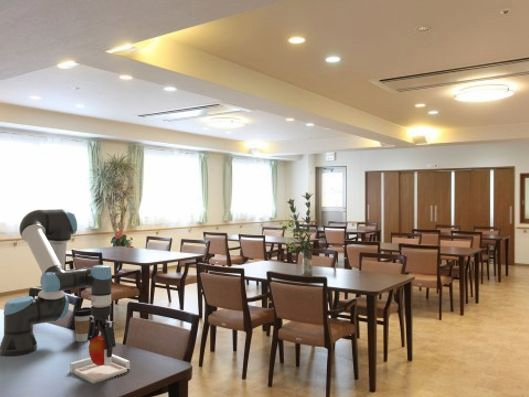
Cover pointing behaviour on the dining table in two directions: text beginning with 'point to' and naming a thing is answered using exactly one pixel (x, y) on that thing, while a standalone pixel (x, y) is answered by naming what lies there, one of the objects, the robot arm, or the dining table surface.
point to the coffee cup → (82, 323)
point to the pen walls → (88, 362)
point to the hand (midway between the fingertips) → (100, 362)
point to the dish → (99, 372)
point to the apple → (97, 350)
